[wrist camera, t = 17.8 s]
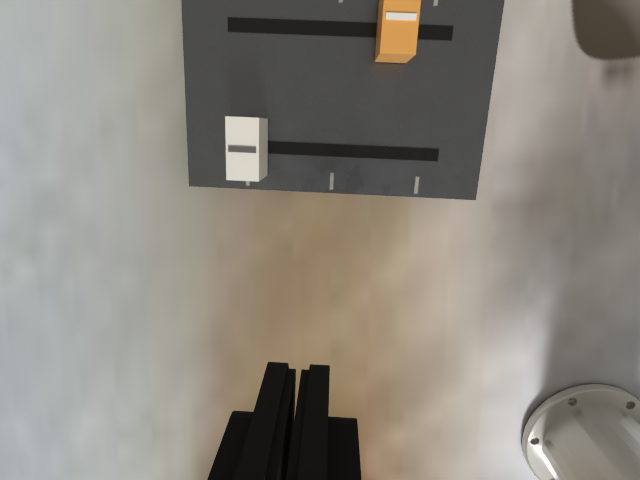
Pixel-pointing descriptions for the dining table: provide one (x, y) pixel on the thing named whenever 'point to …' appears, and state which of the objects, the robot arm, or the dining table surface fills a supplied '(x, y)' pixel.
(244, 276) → the dining table surface
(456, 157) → the console
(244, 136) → the cream fader
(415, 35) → the orange fader
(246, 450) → the robot arm
